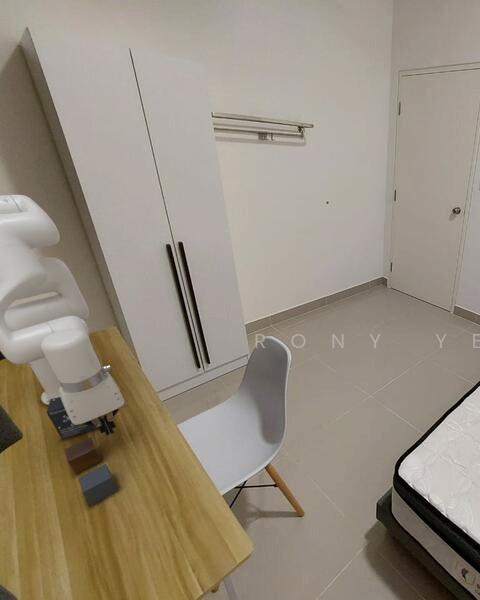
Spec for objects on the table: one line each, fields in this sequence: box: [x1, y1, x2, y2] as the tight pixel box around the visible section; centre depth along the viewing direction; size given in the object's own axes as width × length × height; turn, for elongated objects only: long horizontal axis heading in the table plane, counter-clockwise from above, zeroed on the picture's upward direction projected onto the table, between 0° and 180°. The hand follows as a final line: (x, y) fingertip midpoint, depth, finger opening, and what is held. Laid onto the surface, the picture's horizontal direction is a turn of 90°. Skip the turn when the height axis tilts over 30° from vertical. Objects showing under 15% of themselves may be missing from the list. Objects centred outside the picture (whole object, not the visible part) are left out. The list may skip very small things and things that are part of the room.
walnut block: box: [64, 436, 102, 475], centre depth 82 cm, size 5×5×5 cm
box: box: [45, 397, 102, 440], centre depth 90 cm, size 8×6×11 cm
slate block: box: [78, 463, 119, 506], centre depth 76 cm, size 5×5×5 cm
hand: (109, 431), depth 86 cm, fingers closed
